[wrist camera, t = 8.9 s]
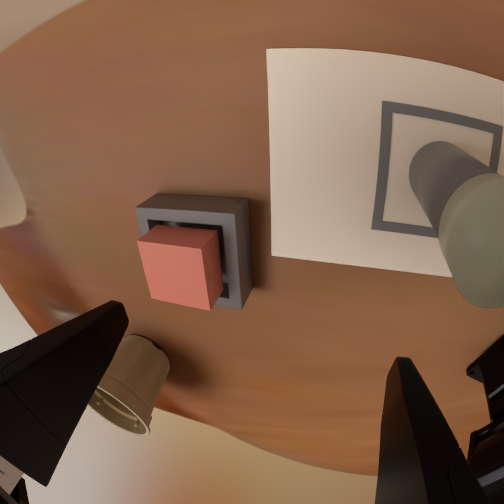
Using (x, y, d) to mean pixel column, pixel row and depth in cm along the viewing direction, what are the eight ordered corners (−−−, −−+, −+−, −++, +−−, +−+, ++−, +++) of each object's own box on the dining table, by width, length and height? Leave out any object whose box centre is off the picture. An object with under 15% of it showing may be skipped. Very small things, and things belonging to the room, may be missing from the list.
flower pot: (149, 316, 29) (100, 380, 22) (200, 379, 32) (166, 442, 25) (102, 326, 33) (59, 376, 26) (147, 380, 36) (114, 429, 29)
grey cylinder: (483, 166, 13) (568, 238, 6) (447, 222, 16) (500, 323, 8) (429, 124, 13) (504, 164, 6) (394, 185, 16) (427, 274, 8)
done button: (217, 230, 18) (201, 249, 17) (223, 289, 21) (210, 310, 19) (156, 224, 20) (136, 240, 18) (167, 279, 22) (151, 298, 20)
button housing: (248, 198, 19) (234, 214, 17) (252, 288, 23) (241, 309, 21) (155, 194, 21) (135, 207, 19) (170, 275, 25) (155, 292, 23)
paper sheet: (570, 111, 9) (573, 112, 8) (529, 284, 15) (531, 287, 15) (267, 49, 14) (266, 48, 14) (272, 253, 21) (271, 256, 20)
